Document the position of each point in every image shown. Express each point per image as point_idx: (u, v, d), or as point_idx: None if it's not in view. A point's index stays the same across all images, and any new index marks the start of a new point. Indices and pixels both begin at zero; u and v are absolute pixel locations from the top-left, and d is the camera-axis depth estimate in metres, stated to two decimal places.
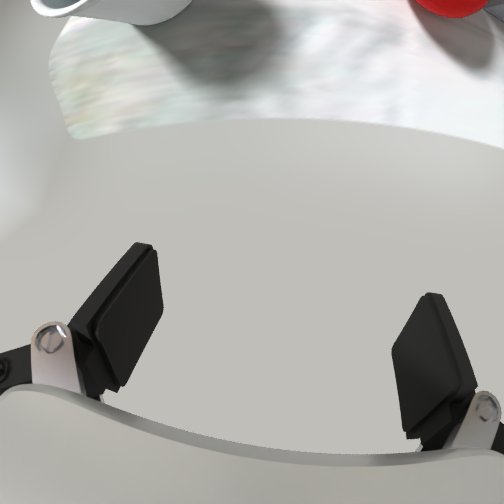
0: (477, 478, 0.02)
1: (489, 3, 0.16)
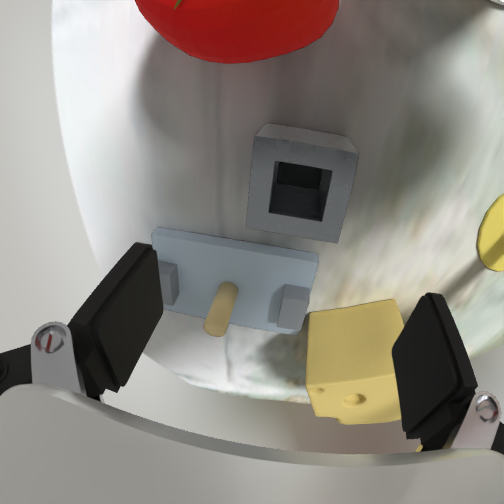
0: (477, 478, 0.02)
1: (273, 127, 0.20)
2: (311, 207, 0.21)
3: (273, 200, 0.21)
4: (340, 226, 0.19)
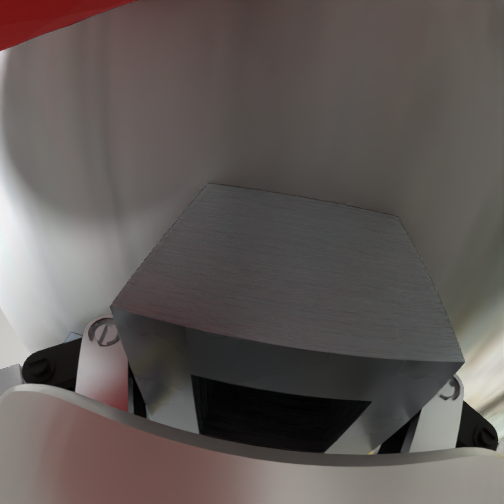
0: (477, 478, 0.02)
1: (212, 209, 0.08)
2: (304, 396, 0.09)
3: None
4: None
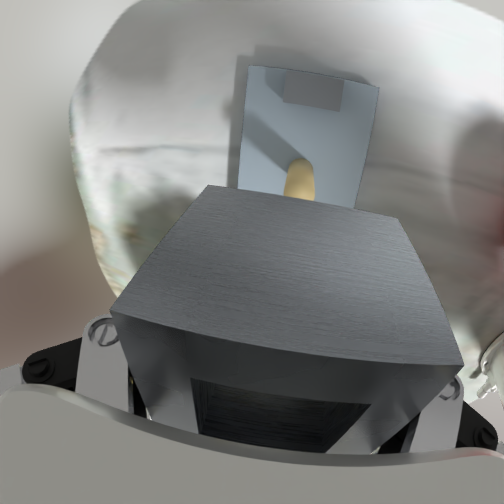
0: (477, 478, 0.02)
1: (212, 211, 0.08)
2: (303, 397, 0.09)
3: None
4: None
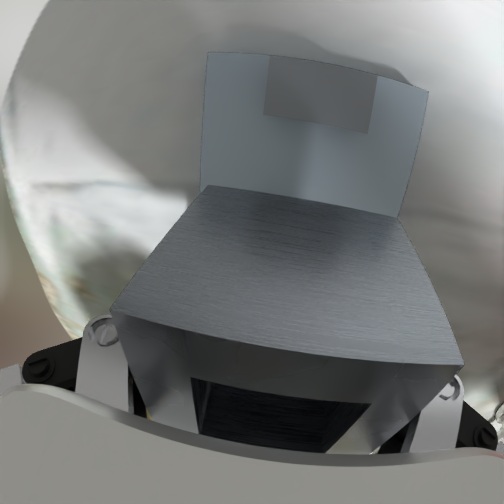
0: (477, 478, 0.02)
1: (212, 211, 0.08)
2: (303, 397, 0.09)
3: None
4: None
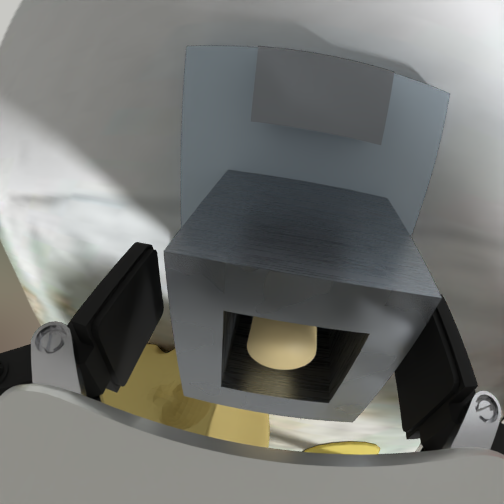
0: (477, 478, 0.02)
1: (235, 188, 0.10)
2: None
3: (237, 339, 0.11)
4: (363, 406, 0.08)
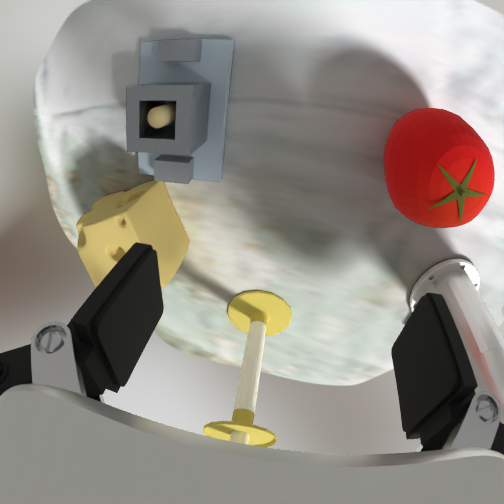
0: (477, 478, 0.02)
1: (152, 83, 0.25)
2: None
3: (150, 133, 0.26)
4: (188, 141, 0.24)
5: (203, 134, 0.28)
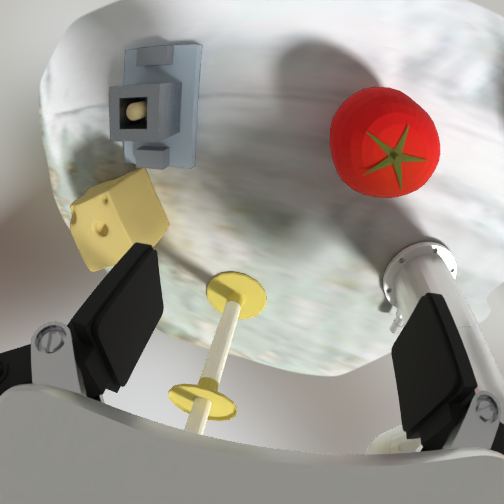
0: (477, 478, 0.02)
1: (133, 84, 0.29)
2: None
3: (130, 125, 0.30)
4: (157, 130, 0.28)
5: (175, 126, 0.32)
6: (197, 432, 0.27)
